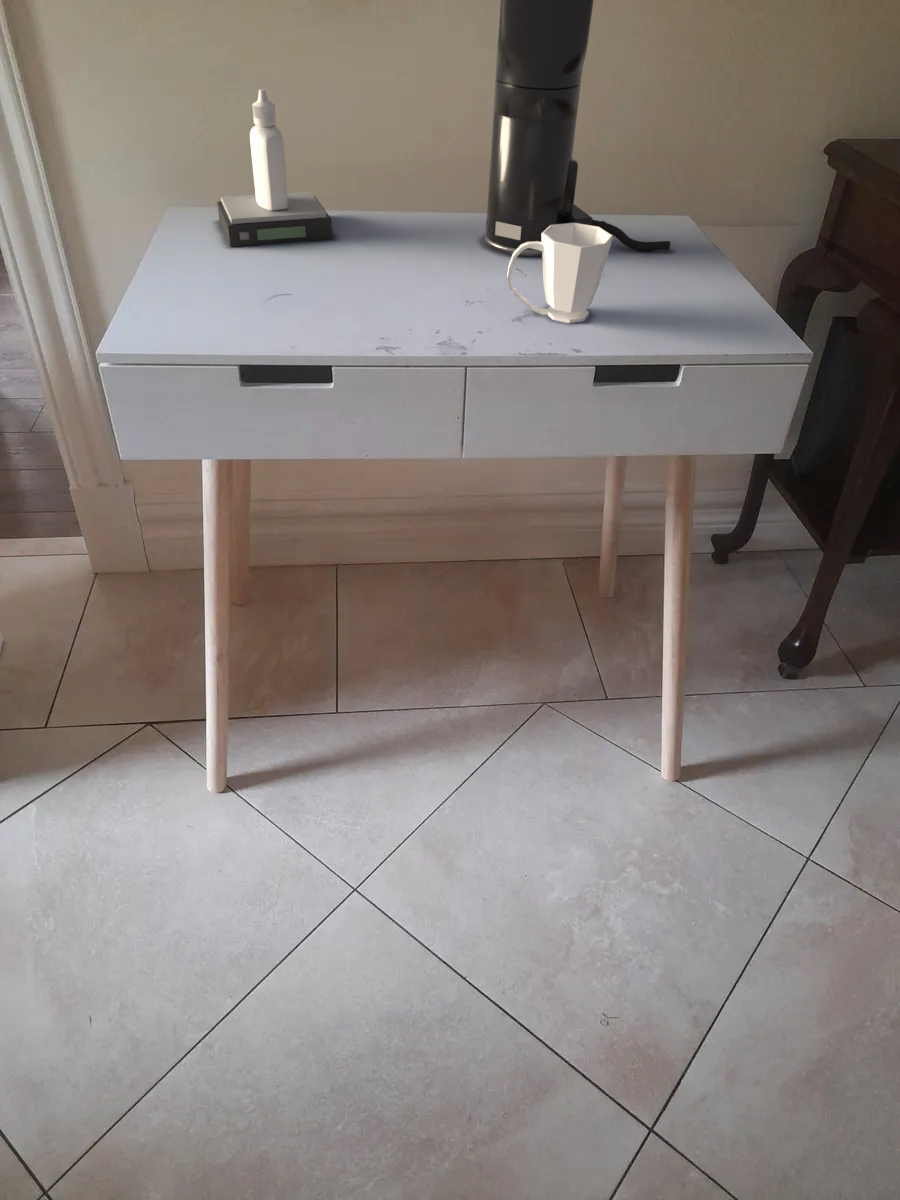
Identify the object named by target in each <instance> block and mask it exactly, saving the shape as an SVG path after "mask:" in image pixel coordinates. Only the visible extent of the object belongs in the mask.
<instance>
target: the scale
mask: <svg viewBox="0 0 900 1200" xmlns="http://www.w3.org/2000/svg"><path fill="white" fill-rule="evenodd" d="M216 204H217V205H216V206H217V212H218V219H219V223H220V226H221V228H222V230H223V232H224V235H225V238H226V240H227V241H228V244H229V246H230V247H231V248H232V247H246V246H258V245H259V246H260V245H270V244H271V245H272V244H284V243H298V242H311V241H324V240H332V239H333V230H332V229H333V228H332V218H331V216H330V215H329V214H328V212H327V211H326V209H325V208H324V206H323V205H322V204H321V202H320V201H319V200H318V198H317V197H316V195H315V194H313V192H312V191H311V190H308V191H307V190H305V191H292V192H289V191H288V208H287V209H284V210H276V211H270V210H267V209H264V208H262V207H261V206H259V205H258V203H257V201H256V195H255V194H243V195H227V196H224V195H223V196H220V200H219V201H216Z"/></svg>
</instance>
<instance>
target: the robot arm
mask: <svg viewBox="0 0 900 1200" xmlns="http://www.w3.org/2000/svg"><path fill="white" fill-rule="evenodd" d="M593 7H594V0H500V5H499V21H498V23H499V25H498V34H497V48H496V62H495V65H496V66H495V82H494V98H493V115H492V128H491V129H492V130H491V147H490V162H489V177H488V179H489V180H488V194H487V206H486V207H487V208H486V209H487V210H486V221H485V232H484V242H485V244H486V245H487V246H488V247H490V248H492V249H493V250H495V251H498V252H501V253H504V254H509V255H513V253H514V251H515V250H516V249H517V248H518V247H519V246H520V245H521V244H523V243H526V242H533V241H538V242H542V237H541V233H542V232H543V231H545V230H546V229H547V228H548V227H549V226H550V225H556V224H566V223H579V224H585V225H591V226H596V227H600V228H601V229H603V230H604V231H606V232H607V233H609V234H610V235H612V236H613V237H615V238H616V239H617V240H618V241H619V242H620V243H622V245H624V246H625V247H627V248H629V249H633V250H637V251H644V252H645V251H670V248H671V241H670V240H659V241H641V240H637V239H634V238H632V237H630V236H629V235H628V234H626V233H625V232H624V231H623V230H622V229H621V228H619V227H618V226H616V225H614V224H611V223H608V222H605V221H602V220H597V219H593V218H594V217H592V216H590V214H588V213H587V212H586V211H584V210H583V209H581V208H580V207H578V206H577V205H576V204H575V194H576V187H577V181H578V180H577V179H578V170H579V163H578V161H577V160H576V159H574V158H573V152H574V146H575V145H574V144H575V136H576V126H577V119H578V109H579V102H580V94H581V93H580V92H581V83H582V76H583V69H584V62H585V60H586V59H585V58H586V55H587V51H588V46H589V37H590V30H591V24H592V23H591V22H592V16H593V15H592V14H593ZM518 256H523V257H525V256H526V257H536V256H537V257H538V256H542V251H540V250H536V249H531V248H527V249H524V250H523V251H522V252H521V253H520V254H519V255H518Z"/></svg>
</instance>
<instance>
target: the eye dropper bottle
mask: <svg viewBox="0 0 900 1200" xmlns="http://www.w3.org/2000/svg"><path fill="white" fill-rule="evenodd" d="M257 96H258V97H257V100H256V101H255V102H253V103H252V105H251V106H252V117H253V124H254V125H253V126H252V127H251V129H250V131H249V144H250V154H251V163H252V174H253V185H254V195H256V201H257V203H258V205H259V206H261V207H262V208H264V209H267V210H270V211H276V210H284V209H287V208H288V193H289V191H288V179H287V166H286V165H287V164H286V155H285V153H286V152H285V143H284V137H283V134H282V133H281V131H280V129H279V128H278V127H277V125H276V124H277V119H276V107H275V106H276V105H275V103H274V102H272V101H270V100H269V99H268V96H267V91H266V89H265V88H264V89H263V88H261V89H258V95H257Z"/></svg>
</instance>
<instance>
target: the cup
mask: <svg viewBox="0 0 900 1200" xmlns="http://www.w3.org/2000/svg"><path fill="white" fill-rule="evenodd" d="M541 237H542V242H538V241H533V242H526V243H523V244H521V245H520V246H519V247H518V248H517V249H516V250H515V251H514V253H513V254H511V257H510V260H509V263H508V267H507V274H506V277H507V278H506V279H507V283H508V287H509V290H510V291H511V292H512V295H514V297H515V298H516V299H518V300H519V301H520V302H521V303H522V304H524V305H525V306H526V307H527V308H529V309H530V310H532V311H534V312H535V313H538V314H539V315H544V316H546V315H547V316H548V317H549V318H551V320H552V321H556V322H562V323H566V324H572V323H573V324H575V323H580V322H585V320H586V319H587V318H588V316H589V315H590V311H589V310H588V309H589V307H590V306H591V305H592V304H593V303H592V302H593V300H594V297H595V295H596V293H597V290H598V289H599V286H600V283H601V279H602V275H603V272H604V270H605V269H604V268H605V266H606V262H607V258H608V255H609V252H610V248H611V245H612V242H613V238H614V236H613V235H612V234H609V233H607V232H606V231H604V230H603V229H601V228H600V227H596V226H591V225H585V224H579V223H566V224H556V225H550V226H549V227H548V228H547V229H546V230H545V231H543V232H542V233H541ZM527 248H531V249H536V250H540V251H542V255H541V256H542V257H541V258H542V283H543V288H544V289H543V290H544V296H545V302H546V304H548V305H549V306H548V308H541V307H540V306H537V305H535V304H533V303H532V302H531V301H529V300H528V299H527V298H526V297H524V295H522V294H521V293H520V292H519V291H518V289H516V287H515V286H514V285H513V282H512V278H511V276H512V271H513V266H514V264H515V261H516V259H517V257H518V256H520V255H519V254H520V253H521V252H522V251H523V250H524V249H527Z"/></svg>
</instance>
